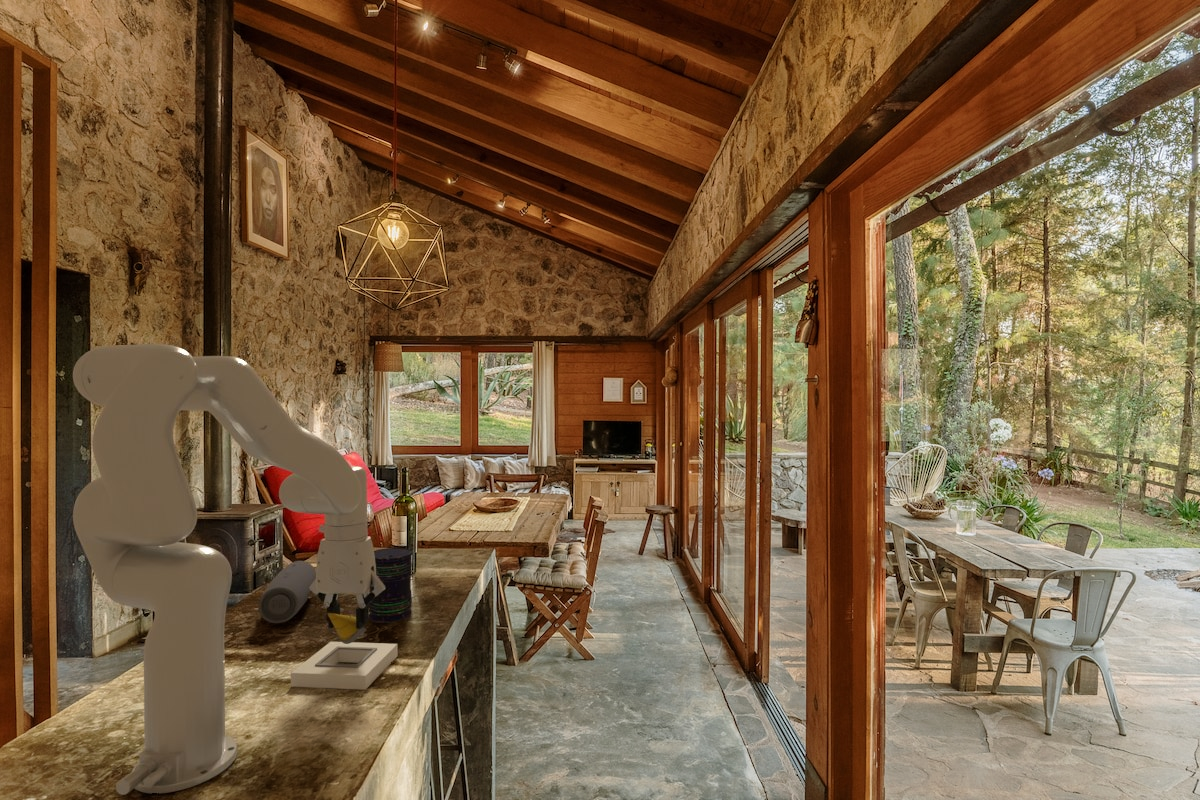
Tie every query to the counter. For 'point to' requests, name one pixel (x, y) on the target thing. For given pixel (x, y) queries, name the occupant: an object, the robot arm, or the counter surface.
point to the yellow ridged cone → (346, 627)
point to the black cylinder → (392, 586)
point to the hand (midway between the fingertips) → (348, 624)
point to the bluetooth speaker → (287, 592)
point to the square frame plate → (344, 665)
